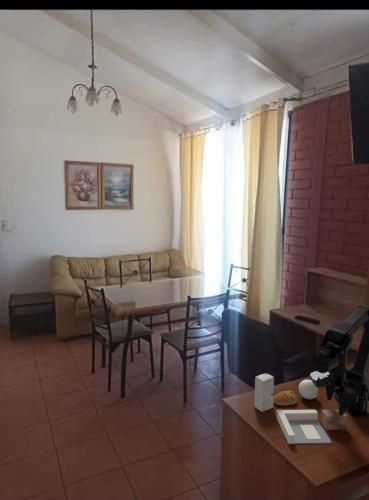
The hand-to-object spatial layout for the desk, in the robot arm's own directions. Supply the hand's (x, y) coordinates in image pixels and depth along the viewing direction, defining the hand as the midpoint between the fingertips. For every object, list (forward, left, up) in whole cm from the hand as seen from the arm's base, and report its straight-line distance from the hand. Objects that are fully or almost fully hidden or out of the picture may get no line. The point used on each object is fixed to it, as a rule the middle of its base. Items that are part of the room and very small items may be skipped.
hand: (334, 407), depth 122 cm
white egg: (+2, -19, -7) cm, 20 cm away
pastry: (+12, -16, -7) cm, 21 cm away
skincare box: (+22, -12, -7) cm, 26 cm away
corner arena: (+12, +2, -7) cm, 14 cm away
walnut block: (0, 0, -7) cm, 7 cm away
